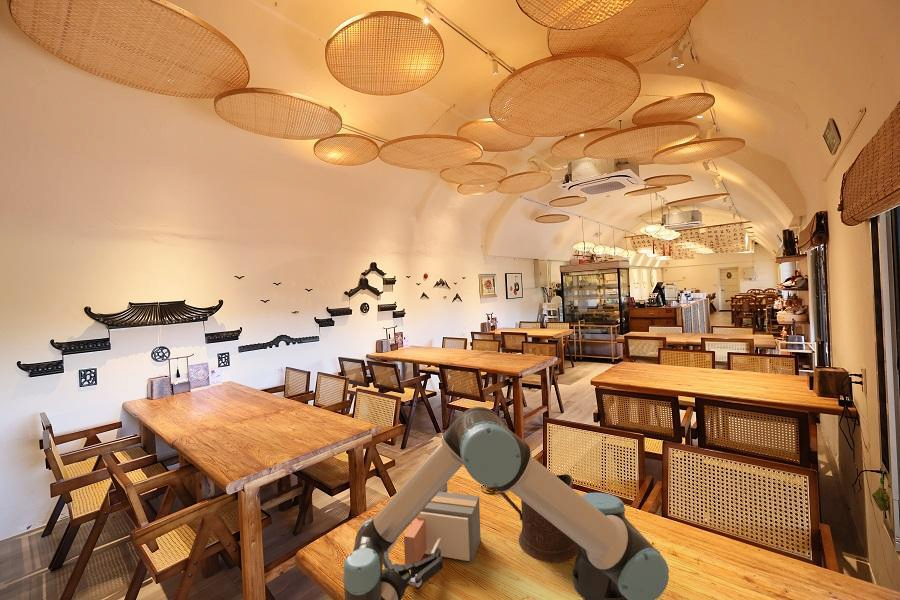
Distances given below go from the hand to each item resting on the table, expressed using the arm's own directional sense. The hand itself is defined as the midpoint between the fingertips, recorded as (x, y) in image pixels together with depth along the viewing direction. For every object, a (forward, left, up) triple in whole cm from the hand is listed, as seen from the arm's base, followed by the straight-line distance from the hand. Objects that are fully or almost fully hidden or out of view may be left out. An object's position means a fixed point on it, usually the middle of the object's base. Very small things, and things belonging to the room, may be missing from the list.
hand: (417, 539), depth 109 cm
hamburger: (+12, -47, -8) cm, 49 cm away
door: (-6, -2, -6) cm, 9 cm away
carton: (-1, -11, -7) cm, 13 cm away
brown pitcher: (-20, -32, -7) cm, 39 cm away
